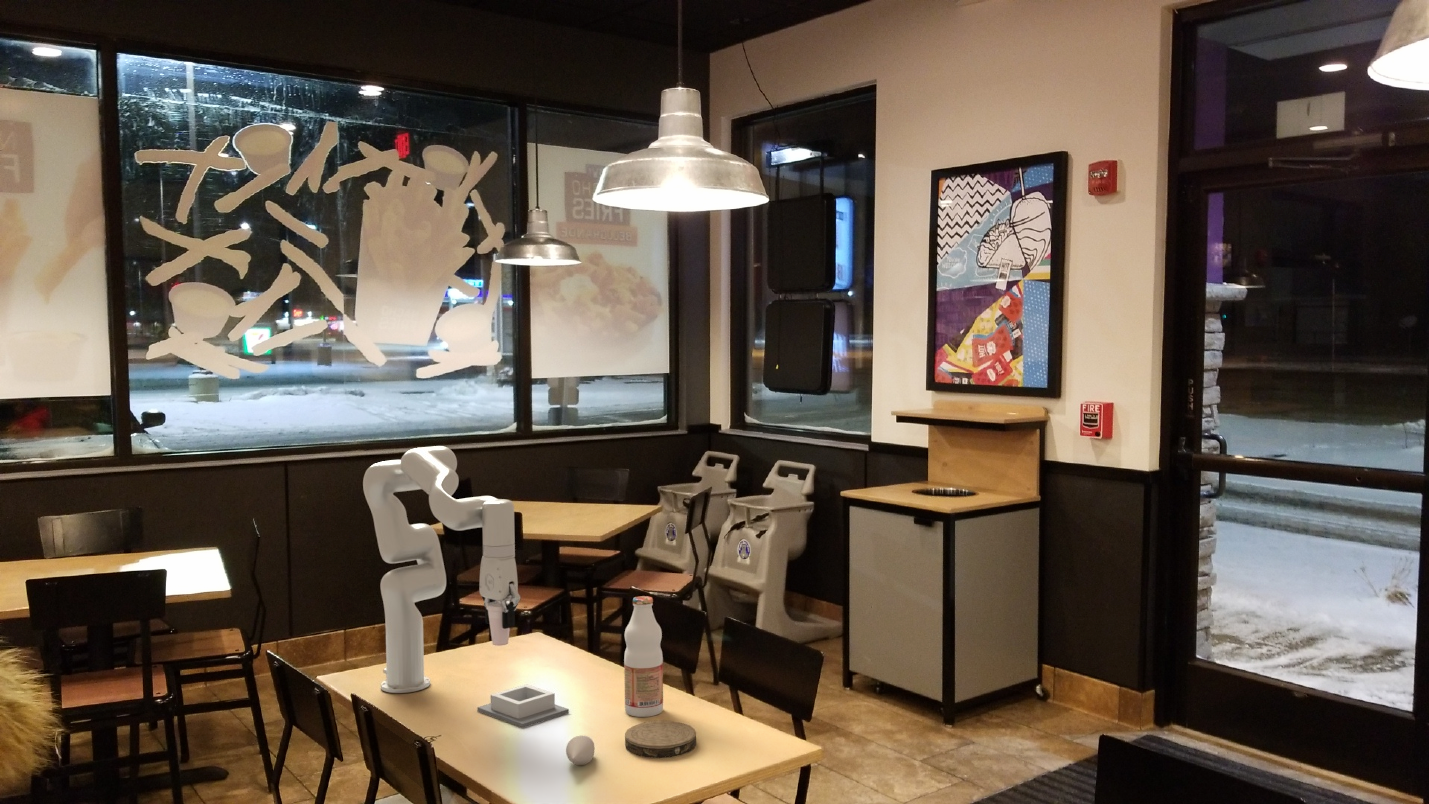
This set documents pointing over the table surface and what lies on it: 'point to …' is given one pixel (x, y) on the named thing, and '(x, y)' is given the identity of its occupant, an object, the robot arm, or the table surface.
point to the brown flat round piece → (660, 739)
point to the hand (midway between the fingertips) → (500, 624)
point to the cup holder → (523, 706)
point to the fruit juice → (643, 661)
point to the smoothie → (497, 623)
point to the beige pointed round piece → (580, 750)
